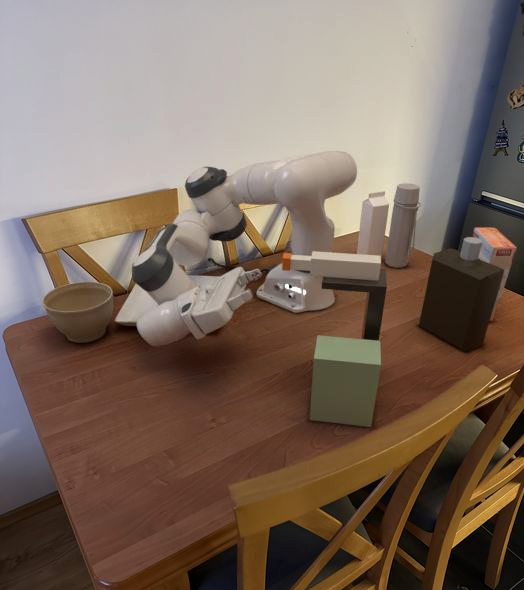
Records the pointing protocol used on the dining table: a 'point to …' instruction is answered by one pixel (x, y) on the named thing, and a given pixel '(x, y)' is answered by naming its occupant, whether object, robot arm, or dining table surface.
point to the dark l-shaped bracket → (373, 300)
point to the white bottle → (335, 265)
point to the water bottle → (402, 225)
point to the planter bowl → (80, 310)
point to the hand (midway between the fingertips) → (255, 282)
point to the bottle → (460, 295)
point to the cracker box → (495, 255)
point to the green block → (345, 380)
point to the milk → (373, 224)
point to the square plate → (149, 301)
